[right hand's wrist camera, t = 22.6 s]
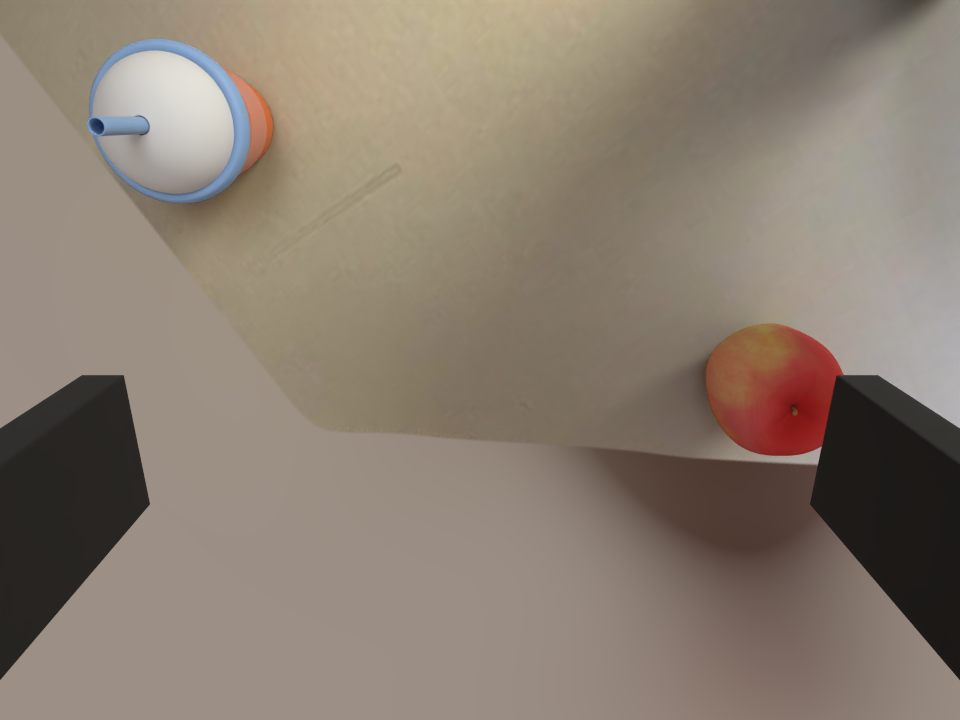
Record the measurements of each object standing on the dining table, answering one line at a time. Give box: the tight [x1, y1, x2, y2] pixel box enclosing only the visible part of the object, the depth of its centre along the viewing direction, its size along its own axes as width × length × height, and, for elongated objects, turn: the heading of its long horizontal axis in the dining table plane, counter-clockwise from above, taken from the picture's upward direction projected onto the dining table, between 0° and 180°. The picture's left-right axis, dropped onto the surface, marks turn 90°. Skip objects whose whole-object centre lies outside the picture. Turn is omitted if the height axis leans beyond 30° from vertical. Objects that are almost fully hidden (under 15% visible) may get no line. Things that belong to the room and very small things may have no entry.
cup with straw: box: [87, 39, 273, 204], centre depth 39 cm, size 9×9×18 cm
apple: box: [706, 324, 843, 456], centre depth 50 cm, size 10×10×10 cm
